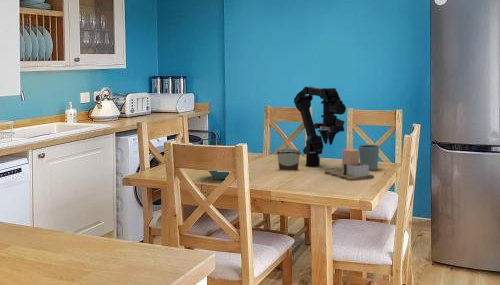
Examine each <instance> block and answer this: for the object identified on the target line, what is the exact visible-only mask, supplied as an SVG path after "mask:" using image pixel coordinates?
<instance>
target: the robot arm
mask: <svg viewBox="0 0 500 285" xmlns="http://www.w3.org/2000/svg"><path fill="white" fill-rule="evenodd" d="M313 96H315V97H319V99H322V101H321V102H320V104H322V111H323V112H322V115H320V117H321V118H322V122H315V123H314V120H313V117H312V114H311V110H310V109H311V107H312V101H313V99H314V97H313ZM293 103H294V105H295V108H296V109H297V111H298V112H300V115H301V118H302V122H303V126H304V129H305V133H306V136H307V137H306V140H305V147H304V148H303V149H302V152H303V155H306V156H305V160H306V161H305V166H306V167H319V166H320V164H321V157H320V155H322V154H323V150H324V144H325V145H327V144H329V145H330V146H332V145H333V143H334V139H335V137H336V135H337V134H339V133H340V132H345V127H344V125H345V120H342V119H339V118H338V117H337V115H339V116H341V115H344V114H345V113H346V110H347V108H346V104H344V103H343V100H342V99H341V97H340V95H339V92H338V90H337V88H335V87H323V88H319V87H315V86H314V87H313V86H304V87H303V89H302V90H300V91H299V92H298V93H297V94H296V95H295V97H294V98H293ZM316 130H317V131H318V133H319V135H318V134H317V131H316Z"/></svg>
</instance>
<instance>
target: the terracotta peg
mask: <svg viewBox="0 0 500 285" xmlns="http://www.w3.org/2000/svg"><path fill="white" fill-rule="evenodd" d="M341 163H342V164H341V165H342V172H343V173H344V164H349V165H353V166H359V163H360V156H359V149H354V148H345V149H344V148H343V149H342V162H341Z"/></svg>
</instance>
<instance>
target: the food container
mask: <svg viewBox="0 0 500 285" xmlns="http://www.w3.org/2000/svg"><path fill="white" fill-rule="evenodd" d="M276 155H277V161H278V163H277V164H278V171H293V172H294V171H296V172H297V171H299V165H300V164H299V163H300V156H301V155H302V154H301V151H300V150H299V149H290V148H284V149H278V150H277V151H276Z"/></svg>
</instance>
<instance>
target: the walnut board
mask: <svg viewBox="0 0 500 285" xmlns="http://www.w3.org/2000/svg"><path fill="white" fill-rule="evenodd" d="M324 174H325V175H329V176H332V177H335V178H340V179H343V180H347V181H349V182H350V181H351V182H352V181H358V180H359V181H360V180H368V179H375V175H373V174H371V173H369V175H368V176H363V177H351V176H348V175H344V173H343V172H342V169H341V168H340V169H330V170H325V171H324Z"/></svg>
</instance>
